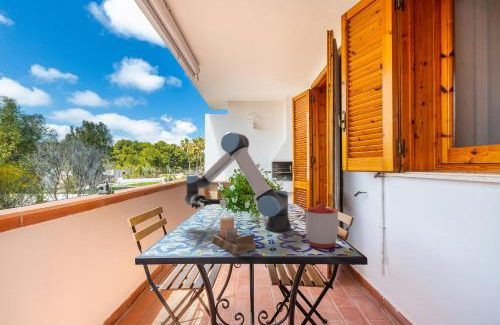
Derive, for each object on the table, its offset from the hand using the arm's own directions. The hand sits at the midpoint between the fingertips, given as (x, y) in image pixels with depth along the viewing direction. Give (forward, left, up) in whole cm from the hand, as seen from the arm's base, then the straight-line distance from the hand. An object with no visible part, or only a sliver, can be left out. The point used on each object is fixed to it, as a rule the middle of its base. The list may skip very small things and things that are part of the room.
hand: (215, 204), depth 137 cm
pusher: (-9, +14, -16) cm, 23 cm away
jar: (-6, +11, -16) cm, 21 cm away
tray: (-9, +15, -17) cm, 25 cm away
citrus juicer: (-51, +18, -18) cm, 57 cm away
